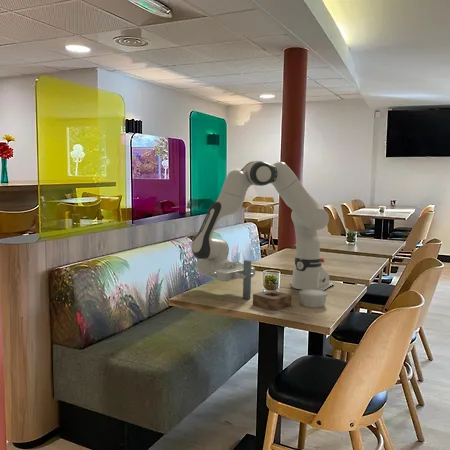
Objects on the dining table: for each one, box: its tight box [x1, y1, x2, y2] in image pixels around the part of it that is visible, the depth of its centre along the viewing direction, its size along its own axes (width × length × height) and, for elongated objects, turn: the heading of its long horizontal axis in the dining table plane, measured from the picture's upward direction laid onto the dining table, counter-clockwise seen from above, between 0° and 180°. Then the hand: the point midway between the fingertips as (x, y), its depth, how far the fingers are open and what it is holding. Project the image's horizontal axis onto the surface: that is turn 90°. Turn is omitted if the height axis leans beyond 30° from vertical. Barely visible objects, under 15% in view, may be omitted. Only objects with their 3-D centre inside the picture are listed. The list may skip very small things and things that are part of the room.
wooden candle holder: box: [252, 289, 293, 312], centre depth 186 cm, size 11×11×4 cm
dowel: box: [242, 259, 252, 300], centre depth 195 cm, size 3×3×16 cm
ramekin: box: [298, 289, 328, 309], centre depth 189 cm, size 11×11×5 cm
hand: (248, 276), depth 195 cm, fingers closed on dowel, 3 cm apart
